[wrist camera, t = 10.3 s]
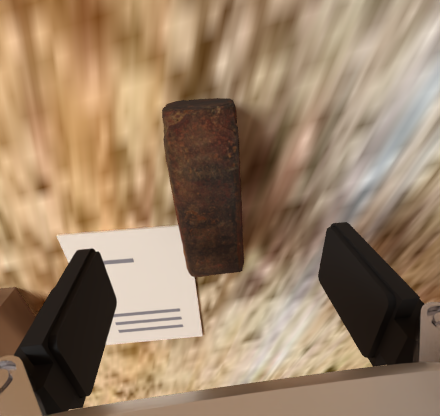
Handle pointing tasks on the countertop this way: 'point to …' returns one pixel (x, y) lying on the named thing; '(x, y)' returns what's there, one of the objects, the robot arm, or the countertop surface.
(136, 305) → the letter
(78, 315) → the robot arm
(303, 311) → the countertop surface
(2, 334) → the walnut block
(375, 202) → the countertop surface
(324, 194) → the countertop surface
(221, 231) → the brick
